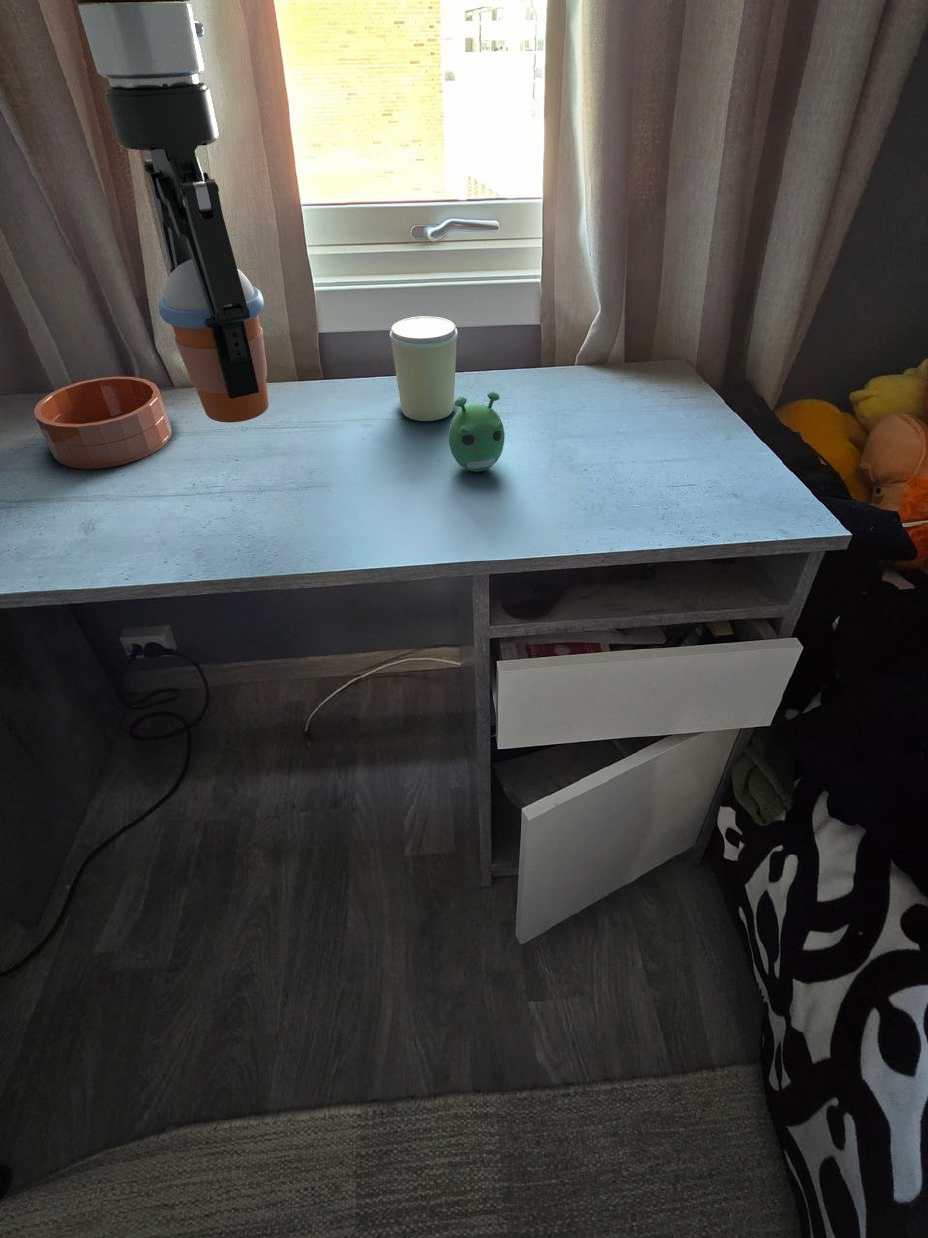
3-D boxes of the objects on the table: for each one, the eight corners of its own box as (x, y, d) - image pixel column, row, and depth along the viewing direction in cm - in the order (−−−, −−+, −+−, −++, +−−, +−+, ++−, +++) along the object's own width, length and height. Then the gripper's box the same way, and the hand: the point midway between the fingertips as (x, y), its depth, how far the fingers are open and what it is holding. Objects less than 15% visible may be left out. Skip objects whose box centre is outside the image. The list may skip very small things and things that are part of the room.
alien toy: (459, 488, 86) (457, 412, 79) (443, 459, 91) (441, 386, 84) (512, 480, 87) (515, 404, 80) (494, 451, 92) (495, 379, 86)
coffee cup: (429, 390, 107) (425, 310, 99) (471, 408, 102) (471, 325, 94) (383, 410, 102) (375, 327, 94) (425, 430, 97) (421, 344, 89)
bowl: (61, 480, 88) (41, 437, 84) (46, 432, 98) (28, 392, 94) (183, 449, 94) (170, 407, 90) (157, 407, 104) (145, 368, 100)
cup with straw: (300, 411, 68) (263, 202, 56) (215, 439, 64) (154, 221, 52) (257, 383, 73) (214, 187, 61) (175, 407, 69) (112, 202, 57)
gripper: (249, 87, 46) (306, 408, 61) (171, 70, 60) (232, 334, 75) (132, 95, 43) (222, 429, 58) (79, 75, 57) (162, 348, 72)
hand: (228, 375), depth 66 cm, fingers closed on cup with straw, 9 cm apart
